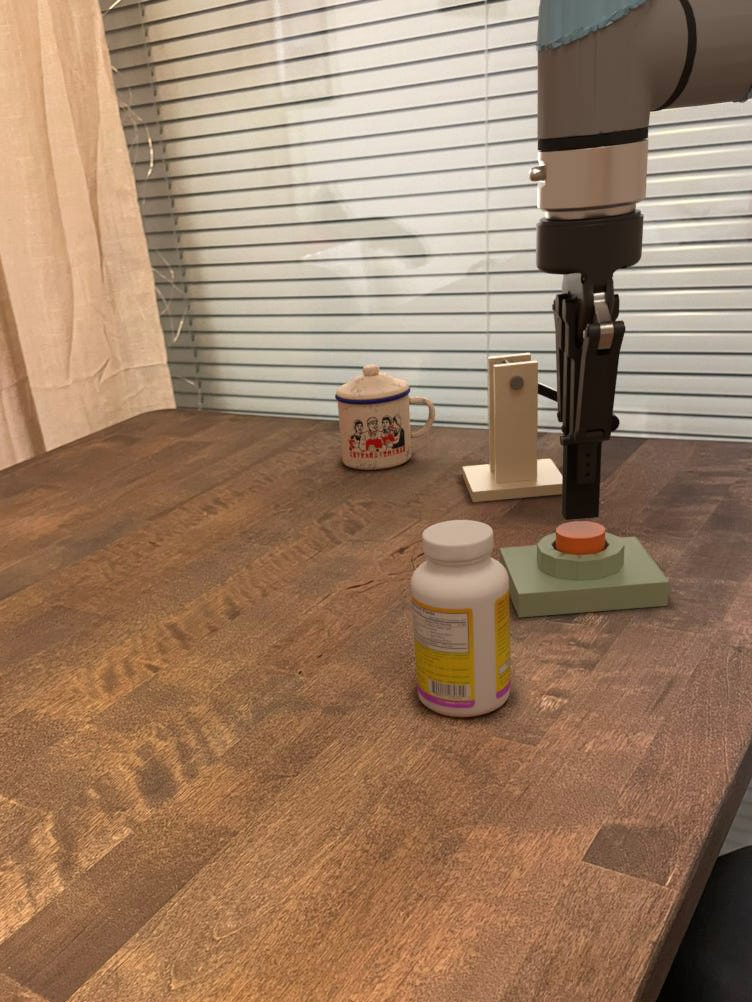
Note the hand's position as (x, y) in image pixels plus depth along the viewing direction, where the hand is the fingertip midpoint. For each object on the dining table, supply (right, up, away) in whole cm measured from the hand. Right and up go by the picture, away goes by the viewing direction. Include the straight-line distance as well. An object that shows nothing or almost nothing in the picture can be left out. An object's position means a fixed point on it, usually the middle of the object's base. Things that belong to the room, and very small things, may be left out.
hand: (580, 515), depth 84 cm
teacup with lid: (-11, +12, +42) cm, 45 cm away
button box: (+1, -6, +3) cm, 7 cm away
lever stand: (+1, +7, +28) cm, 29 cm away
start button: (0, -3, +1) cm, 3 cm away
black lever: (+4, +15, +24) cm, 28 cm away
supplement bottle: (-12, -15, -11) cm, 22 cm away
